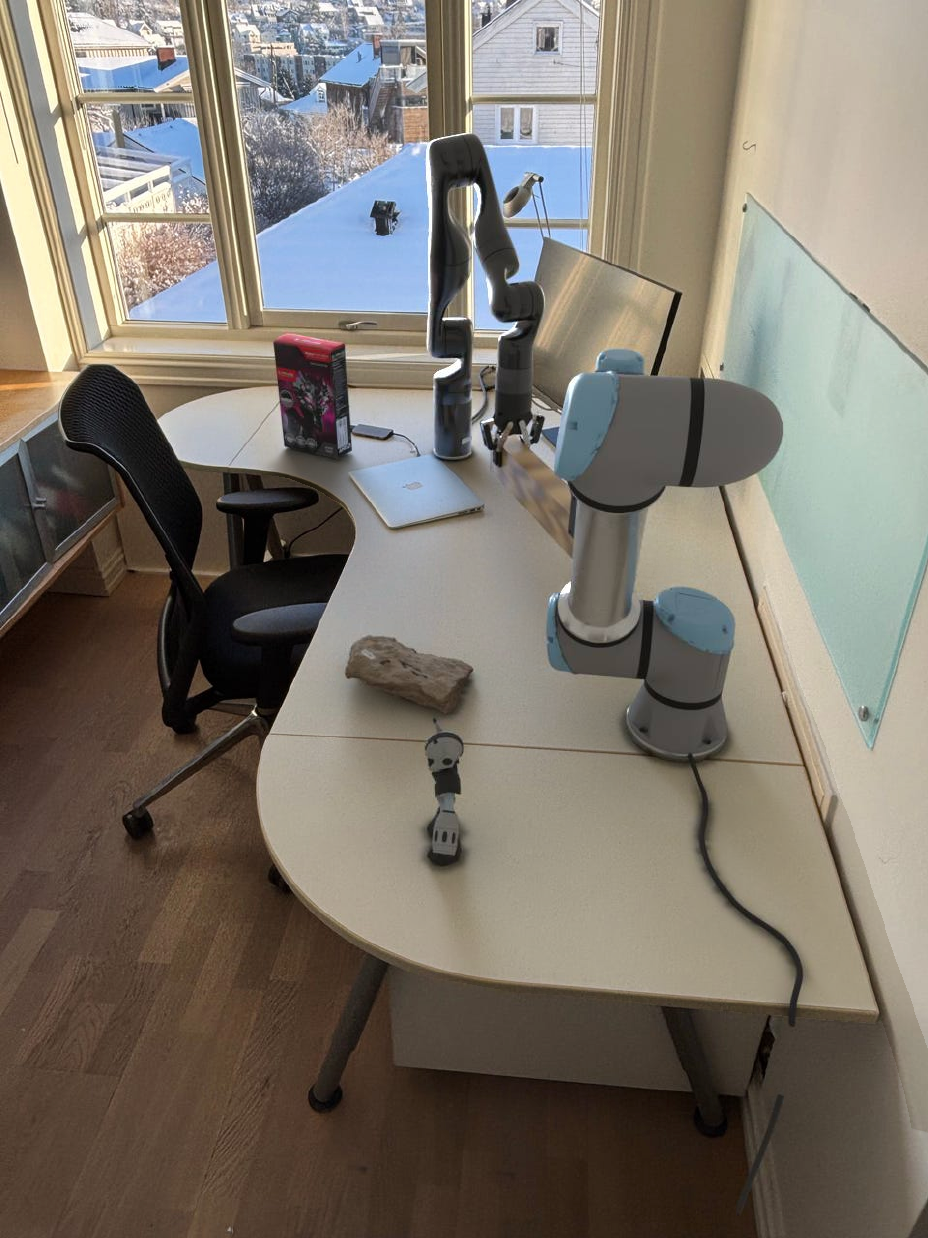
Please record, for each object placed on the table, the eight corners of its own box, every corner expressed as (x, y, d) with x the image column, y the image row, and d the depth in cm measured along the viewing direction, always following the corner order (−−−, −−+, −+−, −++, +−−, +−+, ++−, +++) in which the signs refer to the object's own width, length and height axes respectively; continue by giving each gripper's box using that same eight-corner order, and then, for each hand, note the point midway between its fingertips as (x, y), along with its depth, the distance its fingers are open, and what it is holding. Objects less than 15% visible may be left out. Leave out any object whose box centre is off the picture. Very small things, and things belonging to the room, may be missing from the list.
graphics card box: (282, 447, 232) (270, 339, 217) (298, 438, 237) (288, 331, 222) (338, 461, 225) (330, 350, 210) (354, 451, 230) (347, 342, 215)
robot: (466, 900, 116) (468, 784, 104) (427, 902, 115) (425, 785, 104) (459, 789, 132) (460, 678, 121) (425, 790, 132) (423, 679, 120)
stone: (320, 686, 146) (326, 652, 144) (355, 651, 160) (362, 621, 157) (443, 730, 143) (452, 697, 140) (469, 692, 156) (477, 661, 154)
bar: (625, 584, 161) (630, 543, 157) (600, 589, 160) (604, 548, 155) (510, 467, 201) (512, 432, 196) (489, 470, 199) (490, 435, 195)
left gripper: (538, 375, 189) (534, 452, 199) (473, 383, 185) (472, 462, 195) (554, 388, 183) (549, 466, 193) (487, 396, 179) (485, 476, 189)
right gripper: (648, 430, 157) (633, 549, 170) (551, 444, 151) (543, 566, 164) (671, 447, 151) (654, 569, 164) (572, 462, 146) (562, 587, 159)
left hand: (510, 463), depth 194 cm, fingers closed on bar, 5 cm apart
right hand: (598, 567), depth 164 cm, fingers closed on bar, 5 cm apart
